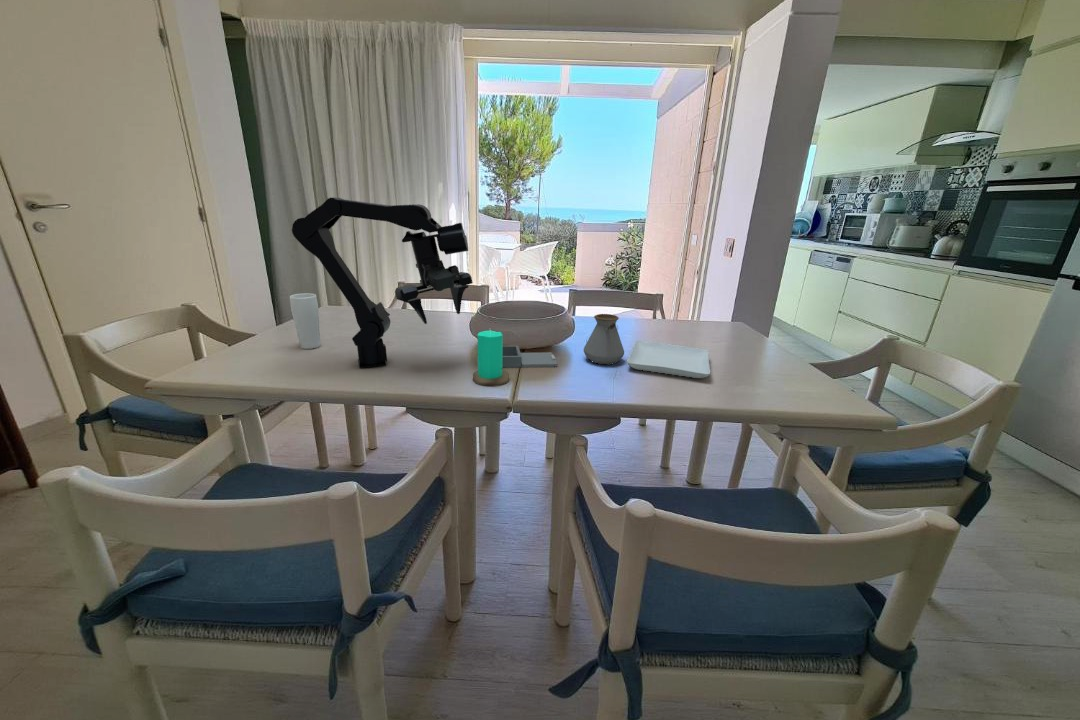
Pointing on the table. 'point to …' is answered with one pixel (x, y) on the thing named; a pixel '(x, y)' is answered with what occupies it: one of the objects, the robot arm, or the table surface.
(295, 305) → the drinking glass
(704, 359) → the salad plate
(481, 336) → the candle
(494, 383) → the coaster
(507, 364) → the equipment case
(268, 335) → the table surface
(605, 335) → the coffee pot
